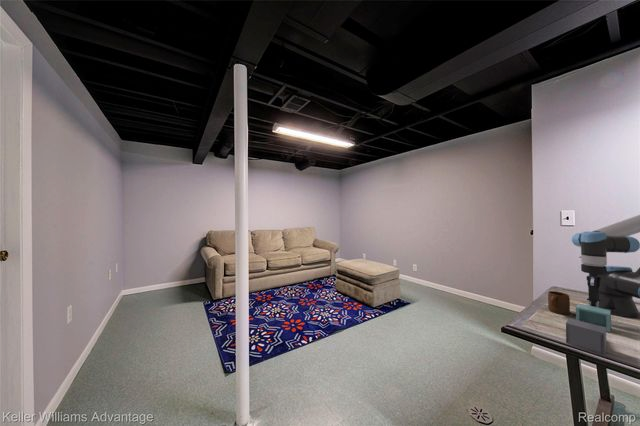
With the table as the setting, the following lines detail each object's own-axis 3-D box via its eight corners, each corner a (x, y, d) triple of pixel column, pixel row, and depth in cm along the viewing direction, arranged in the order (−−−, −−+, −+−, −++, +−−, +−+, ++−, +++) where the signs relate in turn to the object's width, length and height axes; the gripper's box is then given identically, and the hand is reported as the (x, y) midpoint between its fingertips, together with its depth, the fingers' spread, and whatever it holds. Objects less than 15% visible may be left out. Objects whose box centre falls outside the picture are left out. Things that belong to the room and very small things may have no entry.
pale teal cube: (578, 319, 105) (578, 303, 105) (611, 327, 98) (610, 310, 98) (576, 323, 101) (575, 307, 101) (609, 332, 94) (609, 314, 94)
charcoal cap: (569, 336, 91) (568, 318, 91) (606, 348, 83) (606, 327, 83) (566, 342, 87) (565, 322, 87) (605, 355, 79) (604, 333, 79)
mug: (563, 318, 107) (563, 299, 107) (542, 312, 113) (541, 294, 113) (572, 313, 112) (571, 294, 112) (551, 307, 119) (551, 290, 119)
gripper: (583, 261, 110) (583, 308, 110) (579, 264, 103) (579, 315, 103) (607, 264, 104) (608, 314, 104) (605, 268, 97) (605, 321, 97)
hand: (593, 314), depth 104 cm, fingers closed
